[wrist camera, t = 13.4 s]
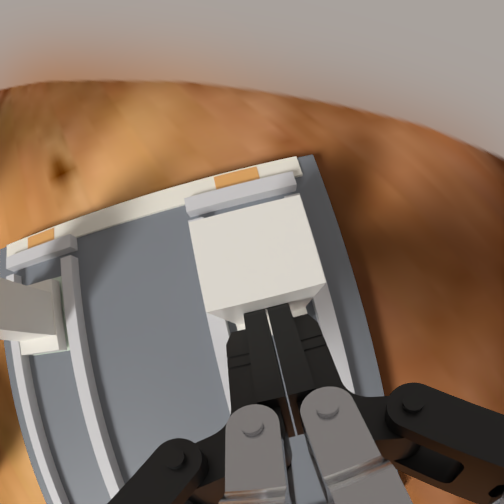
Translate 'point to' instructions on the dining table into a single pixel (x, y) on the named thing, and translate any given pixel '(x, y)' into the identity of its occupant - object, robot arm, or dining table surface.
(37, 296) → the tab
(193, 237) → the tab
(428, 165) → the dining table surface
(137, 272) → the switch board
